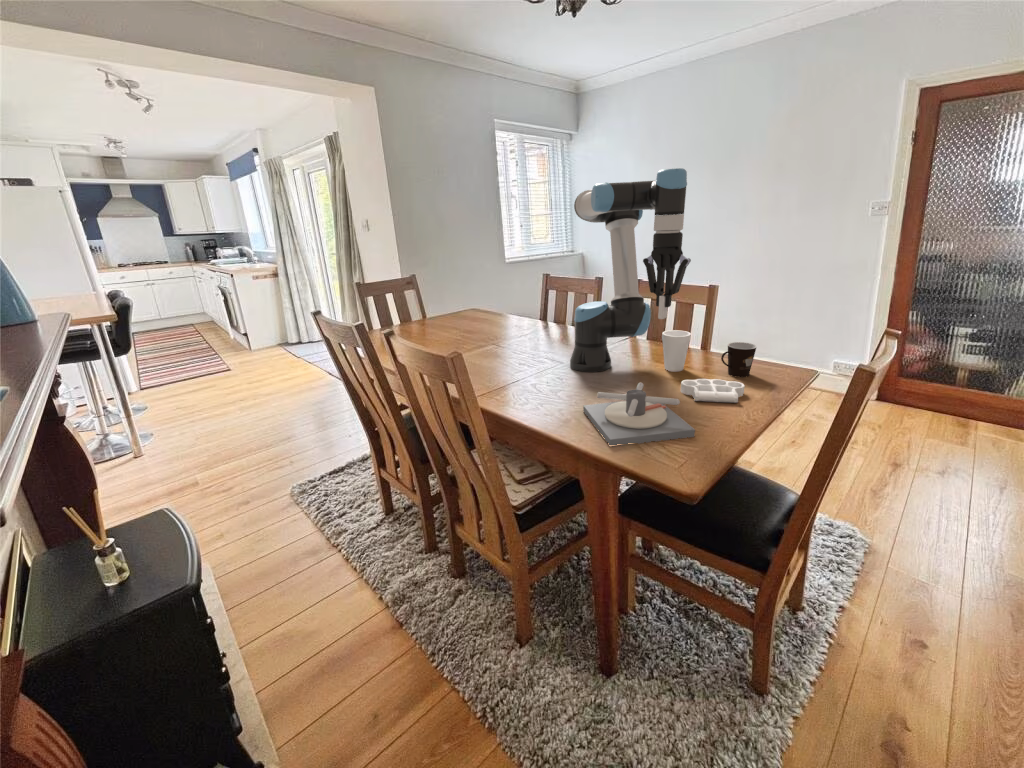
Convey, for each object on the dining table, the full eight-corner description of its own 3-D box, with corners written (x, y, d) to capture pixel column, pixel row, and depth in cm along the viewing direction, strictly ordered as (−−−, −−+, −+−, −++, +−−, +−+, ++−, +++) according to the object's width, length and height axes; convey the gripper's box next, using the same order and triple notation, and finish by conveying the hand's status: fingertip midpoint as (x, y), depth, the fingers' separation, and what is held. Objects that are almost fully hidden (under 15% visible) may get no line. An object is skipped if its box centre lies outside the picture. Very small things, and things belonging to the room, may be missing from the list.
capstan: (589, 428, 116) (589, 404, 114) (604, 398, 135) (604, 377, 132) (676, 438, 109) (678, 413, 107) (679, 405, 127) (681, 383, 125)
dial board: (583, 411, 132) (583, 404, 131) (655, 403, 135) (655, 396, 134) (609, 446, 112) (610, 438, 111) (694, 436, 114) (695, 428, 113)
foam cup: (693, 369, 162) (696, 333, 157) (676, 374, 157) (679, 338, 153) (670, 363, 169) (673, 328, 165) (654, 368, 165) (656, 333, 160)
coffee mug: (746, 369, 158) (750, 341, 155) (756, 378, 150) (761, 348, 147) (711, 370, 160) (714, 342, 156) (720, 378, 152) (723, 349, 148)
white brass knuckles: (683, 403, 135) (678, 386, 149) (749, 406, 131) (739, 388, 144) (683, 392, 134) (679, 376, 147) (751, 395, 130) (740, 378, 143)
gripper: (697, 230, 122) (690, 317, 130) (651, 231, 130) (647, 313, 138) (686, 232, 117) (679, 323, 125) (639, 233, 125) (635, 318, 133)
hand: (662, 318), depth 131 cm, fingers closed
